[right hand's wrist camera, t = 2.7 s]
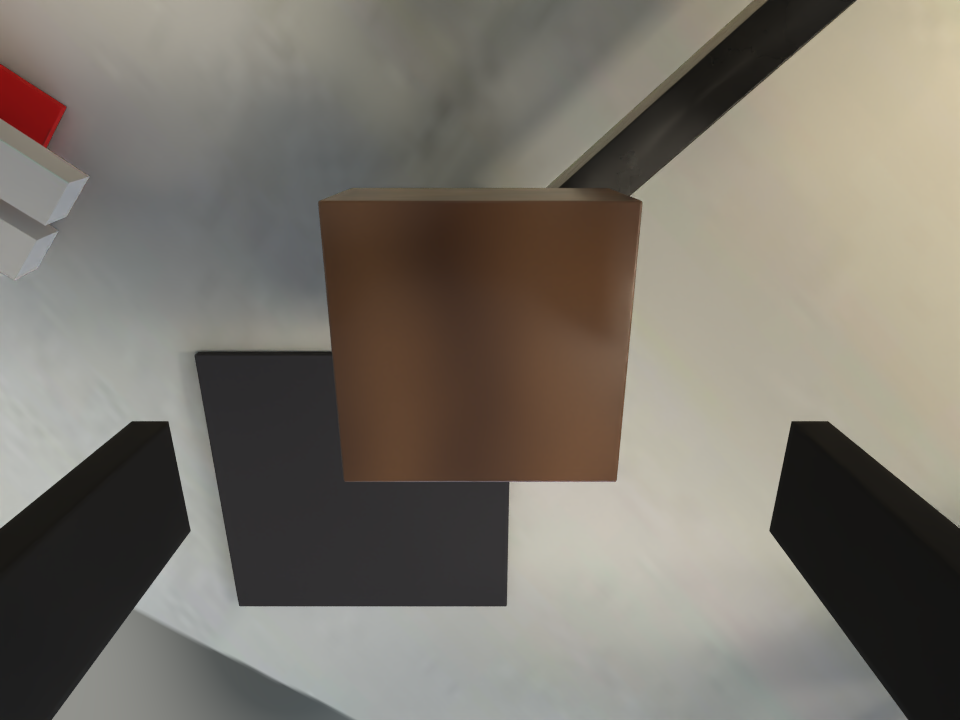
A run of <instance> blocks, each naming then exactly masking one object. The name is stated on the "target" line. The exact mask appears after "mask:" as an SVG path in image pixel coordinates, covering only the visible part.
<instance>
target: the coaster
mask: <svg viewBox="0 0 960 720" xmlns="http://www.w3.org/2000/svg"><path fill="white" fill-rule="evenodd" d="M195 360H196V366H197V372H198V377H199V383H200V388H201V394H202V400H203V405H204V411H205V416H206V422H207V428H208V433H209V439H210V445H211V450H212V456H213V461H214V467H215V473H216V478H217V484H218V489H219V495H220V501H221V506H222V512H223V518H224V523H225V529H226V534H227V540H228V546H229V551H230V557H231V562H232V568H233V574H234V579H235V585H236V590H237V596H238V602H239V606H507V564H508V514H509V482H345V481H344V478H343V467H342V456H341V445H340V434H339V423H338V413H337V402H336V391H335V380H334V369H333V358H332V352H198V353H197V354H195Z"/></svg>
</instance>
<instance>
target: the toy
mask: <svg viewBox="0 0 960 720" xmlns="http://www.w3.org/2000/svg"><path fill="white" fill-rule="evenodd" d="M65 109H66V106H64V105H63V104H61V103H60V102H58V101H57V100H55V99H54V98H52V97H51V96H49V95H47V94H46V93H44V92H43V91H41V90H40V89H38V88H37V87H35V86H34V85H32V84H30V83H29V82H27V81H26V80H24V79H23V78H21V77H20V76H18V75H16V74H15V73H13V72H12V71H10V70H9V69H7V68H6V67H4V66H3V65H1V64H0V272H1V273H2V274H4V275H6V276H8V277H9V278H11V279H13V280H16V279H18V278H20V277H22V276H24V275H26V274H28V273H30V272H32V271H34V270H36V269H37V268H38V267H39V265H40V263H41V261H42V260H43V258H44V256H45V254H46V252H47V251H48V249H49V247H50V245H51V244H52V242H53V240H54V238H55V237H56V235H57V233H58V230H57V229H55V228H53V227H52V226H50V225H49V224H50V223H53V222H55V221H58V220H60V219H62V218H65V217H67V215H68V214H69V212H70V210H71V208H72V207H73V205H74V203H75V201H76V200H77V198H78V196H79V194H80V193H81V191H82V189H83V187H84V186H85V184H86V182H87V180H88V178H89V177H90V176H88V175H86V174H85V173H83V172H82V171H80V170H79V169H77V168H76V167H74V166H73V165H71V164H70V163H68V162H66V161H65V160H63V159H62V158H60V157H59V156H57V155H56V154H54V153H53V152H51V151H50V150H48V149H46V147H47V145H48V143H49V141H50V139H51V137H52V135H53V133H54V131H55V129H56V127H57V125H58V123H59V121H60V119H61V117H62V115H63V113H64V111H65Z"/></svg>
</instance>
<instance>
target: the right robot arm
mask: <svg viewBox="0 0 960 720" xmlns="http://www.w3.org/2000/svg"><path fill="white" fill-rule="evenodd" d="M190 531H191V530H190V526H189V521H188V516H187V511H186V506H185V501H184V496H183V491H182V486H181V481H180V476H179V471H178V467H177V462H176V457H175V452H174V447H173V442H172V437H171V432H170V427H169V422H168V421H132V422H131V423H129V424H128V425H127V426H126V427H124V428H123V429H122V430H121V431H120V432H118V433H117V434H116V435H115V436H113V437H112V438H111V439H110V440H109V441H107V442H106V443H105V444H104V445H102V446H101V447H100V448H99V449H97V450H96V451H95V452H94V453H93V454H91V455H90V456H89V457H88V458H86V459H85V460H84V461H83V462H82V463H80V464H79V465H78V466H77V467H75V468H74V469H73V470H72V471H70V472H69V473H68V474H67V475H66V476H64V477H63V478H62V479H61V480H59V481H58V482H57V483H56V484H55V485H53V486H52V487H51V488H50V489H48V490H47V491H46V492H45V493H43V494H42V495H41V496H40V497H39V498H37V499H36V500H35V501H34V502H32V503H31V504H30V505H29V506H28V507H26V508H25V509H24V510H23V511H21V512H20V513H19V514H18V515H16V516H15V517H14V518H13V519H12V520H10V521H9V522H8V523H7V524H5V525H4V526H3V527H2V528H1V529H0V720H52V719H53V717H54V716H55V714H56V713H57V712H58V710H59V709H60V708H61V706H62V705H63V704H64V702H65V701H66V700H67V698H68V697H69V695H70V694H71V693H72V691H73V690H74V689H75V687H76V686H77V685H78V683H79V682H80V680H81V679H82V678H83V676H84V675H85V674H86V672H87V671H88V670H89V668H90V667H91V665H92V664H93V663H94V661H95V660H96V659H97V657H98V656H99V655H100V653H101V652H102V650H103V649H104V648H105V646H106V645H107V644H108V642H109V641H110V640H111V638H112V637H113V636H114V634H115V633H116V632H117V630H118V629H119V627H120V626H121V625H122V623H123V622H124V621H125V619H126V618H127V617H128V615H129V614H130V613H131V611H132V610H133V608H134V607H135V606H136V604H137V603H138V602H139V600H140V599H141V598H142V596H143V595H144V594H145V592H146V591H147V589H148V588H149V587H150V585H151V584H152V583H153V581H154V580H155V579H156V577H157V576H158V575H159V573H160V572H161V570H162V569H163V568H164V566H165V565H166V564H167V562H168V561H169V560H170V558H171V557H172V555H173V554H174V553H175V551H176V550H177V549H178V547H179V546H180V545H181V543H182V542H183V541H184V539H185V538H186V536H187V535H188V534H189V532H190ZM769 531H770V532H771V534H772V535H773V536H774V538H775V539H776V541H777V542H778V543H779V545H780V546H781V547H782V549H783V550H784V551H785V553H786V554H787V555H788V557H789V558H790V560H791V561H792V562H793V564H794V565H795V566H796V568H797V569H798V570H799V572H800V573H801V575H802V576H803V577H804V579H805V580H806V581H807V583H808V584H809V585H810V587H811V588H812V589H813V591H814V592H815V594H816V595H817V596H818V598H819V599H820V600H821V602H822V603H823V604H824V606H825V607H826V608H827V610H828V611H829V613H830V614H831V615H832V617H833V618H834V619H835V621H836V622H837V623H838V625H839V626H840V627H841V629H842V630H843V632H844V633H845V634H846V636H847V637H848V638H849V640H850V641H851V642H852V644H853V645H854V647H855V648H856V649H857V651H858V652H859V653H860V655H861V656H862V657H863V659H864V660H865V661H866V663H867V664H868V666H869V667H870V668H871V670H872V671H873V672H874V674H875V675H876V676H877V678H878V679H879V680H880V682H881V683H882V685H883V686H884V687H885V689H886V690H887V691H888V693H889V694H890V695H891V697H892V698H893V700H894V701H895V702H896V704H897V705H898V706H899V708H900V709H901V710H902V712H903V713H904V714H905V716H906V717H907V719H908V720H960V529H959V528H958V527H957V526H956V525H955V524H953V523H952V522H951V521H950V520H948V519H947V518H946V517H945V516H944V515H942V514H941V513H940V512H939V511H937V510H936V509H935V508H934V507H932V506H931V505H930V504H929V503H928V502H926V501H925V500H924V499H923V498H921V497H920V496H919V495H918V494H917V493H915V492H914V491H913V490H912V489H910V488H909V487H908V486H907V485H905V484H904V483H903V482H902V481H901V480H899V479H898V478H897V477H896V476H894V475H893V474H892V473H891V472H890V471H888V470H887V469H886V468H885V467H883V466H882V465H881V464H880V463H878V462H877V461H876V460H875V459H874V458H872V457H871V456H870V455H869V454H867V453H866V452H865V451H864V450H863V449H861V448H860V447H859V446H858V445H856V444H855V443H854V442H853V441H851V440H850V439H849V438H848V437H847V436H845V435H844V434H843V433H842V432H840V431H839V430H838V429H837V428H836V427H834V426H833V425H832V424H831V423H829V422H828V421H792V422H791V427H790V432H789V437H788V442H787V447H786V452H785V457H784V462H783V467H782V471H781V476H780V481H779V486H778V491H777V496H776V501H775V506H774V511H773V516H772V521H771V526H770V530H769Z"/></svg>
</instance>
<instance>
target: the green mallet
mask: <svg viewBox="0 0 960 720" xmlns="http://www.w3.org/2000/svg"><path fill="white" fill-rule="evenodd" d="M855 1H856V0H754V1H752V2H751V3H750V4H749V5H748V6H747V7H746V8H745V9H744V10H742V11H741V12H740V13H739V14H738V15H737V16H736V17H735V18H734V19H733V20H731V21H730V22H729V23H728V24H727V25H726V26H725V27H724V28H723V29H721V30H720V31H719V32H718V33H717V34H716V35H715V36H714V37H713V38H711V39H710V40H709V41H708V42H707V43H706V44H705V45H704V46H703V47H701V48H700V49H699V50H698V51H697V52H696V53H695V54H694V55H693V56H692V57H690V58H689V59H688V60H687V61H686V62H685V63H684V64H683V65H682V66H680V67H679V68H678V69H677V70H676V71H675V72H674V73H673V74H672V75H670V76H669V77H668V78H667V79H666V80H665V81H664V82H663V83H662V84H661V85H659V86H658V87H657V88H656V89H655V90H654V91H653V92H652V93H651V94H649V95H648V96H647V97H646V98H645V99H644V100H643V101H642V102H641V103H639V104H638V105H637V106H636V107H635V108H634V109H633V110H632V111H631V112H629V113H628V114H627V115H626V116H625V117H624V118H623V119H622V120H621V121H620V122H618V123H617V124H616V125H615V126H614V127H613V128H612V129H611V130H610V131H608V132H607V133H606V134H605V135H604V136H603V137H602V138H601V139H600V140H598V141H597V142H596V143H595V144H594V145H593V146H592V147H591V148H590V149H588V150H587V151H586V152H585V153H584V154H583V155H582V156H581V157H580V158H579V159H577V160H576V161H575V162H574V163H573V164H572V165H571V166H570V167H569V168H567V169H566V170H565V171H564V172H563V173H562V174H561V175H560V176H559V177H557V178H556V179H555V180H554V181H553V182H552V183H551V184H550V185H549V186H548V187H546V188H609V189H612V190H614V191H617V192H620V193H622V194H625V195H627V196H630V195H631V194H633V193H634V192H635V191H636V190H637V189H638V188H640V187H641V186H642V185H643V184H644V183H645V182H646V181H648V180H649V179H650V178H651V177H652V176H653V175H655V174H656V173H657V172H658V171H659V170H660V169H662V168H663V167H664V166H665V165H666V164H667V163H669V162H670V161H671V160H672V159H673V158H674V157H675V156H677V155H678V154H679V153H680V152H681V151H682V150H684V149H685V148H686V147H687V146H688V145H689V144H691V143H692V142H693V141H694V140H695V139H696V138H698V137H699V136H700V135H701V134H702V133H703V132H704V131H706V130H707V129H708V128H709V127H710V126H711V125H713V124H714V123H715V122H716V121H717V120H718V119H720V118H721V117H722V116H723V115H724V114H725V113H727V112H728V111H729V110H730V109H731V108H732V107H733V106H735V105H736V104H737V103H738V102H739V101H740V100H742V99H743V98H744V97H745V96H746V95H747V94H749V93H750V92H751V91H752V90H753V89H754V88H756V87H757V86H758V85H759V84H760V83H761V82H763V81H764V80H765V79H766V78H767V77H768V76H769V75H771V74H772V73H773V72H774V71H775V70H776V69H778V68H779V67H780V66H781V65H782V64H783V63H785V62H786V61H787V60H788V59H789V58H790V57H792V56H793V55H794V54H795V53H796V52H797V51H798V50H800V49H801V48H802V47H803V46H804V45H805V44H807V43H808V42H809V41H810V40H811V39H812V38H814V37H815V36H816V35H817V34H818V33H819V32H821V31H822V30H823V29H824V28H825V27H826V26H827V25H829V24H830V23H831V22H832V21H833V20H834V19H836V18H837V17H838V16H839V15H840V14H841V13H843V12H844V11H845V10H846V9H847V8H848V7H850V6H851V5H852V4H853V3H854V2H855Z"/></svg>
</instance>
